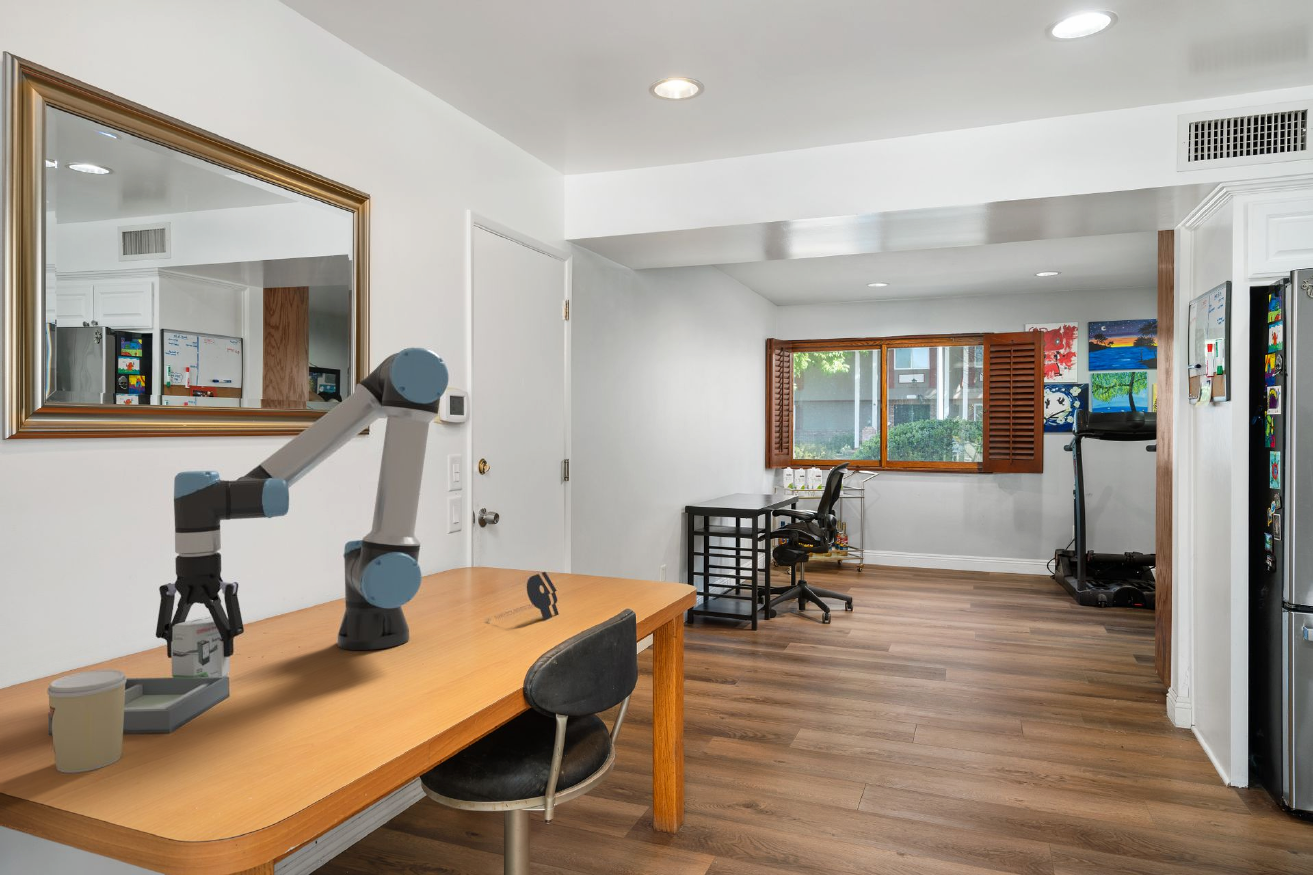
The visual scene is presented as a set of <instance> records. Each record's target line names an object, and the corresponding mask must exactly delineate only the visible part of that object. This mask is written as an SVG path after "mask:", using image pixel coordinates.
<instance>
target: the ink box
mask: <svg viewBox="0 0 1313 875" xmlns="http://www.w3.org/2000/svg"><path fill="white" fill-rule="evenodd" d="M220 639H222V638H221V636H220V634H219V631H218V629H217V627H216V625H215V623H214V620H213V618H212V616H203V617H199V618H195V619H191V620H188V621H187V620H185V622H182V623H179V624H175V626H173V677H172V678H177V677H229V672H228V673H227V674H225V675H223V676H218V645H217V641H219V640H220Z"/></svg>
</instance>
